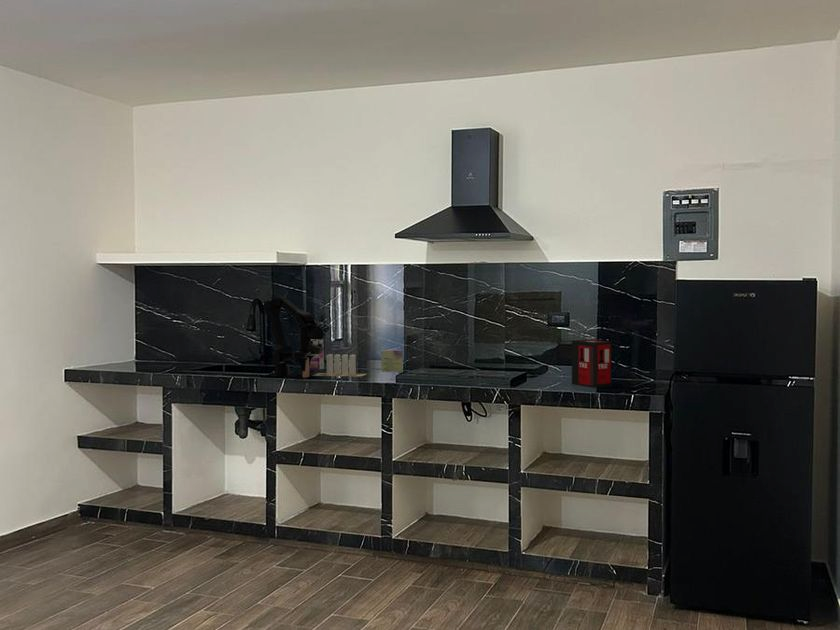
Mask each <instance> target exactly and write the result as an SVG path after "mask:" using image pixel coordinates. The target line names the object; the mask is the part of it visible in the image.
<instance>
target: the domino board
mask: <svg viewBox="0 0 840 630" xmlns="http://www.w3.org/2000/svg"><path fill="white" fill-rule="evenodd" d="M366 375H367V373H356V375H353V376H352V377H358V378H359V377H360V378H361V377H364V376H366ZM311 376H312V377H313V376H314V377H351V376H350V373H348V375H345V376H344V375H342V373H341V374H340V375H334V372H333V374H332V375H327V372H325V373H324V372H318V373H316V374H312V375H311Z"/></svg>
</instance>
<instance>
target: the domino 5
mask: <svg viewBox="0 0 840 630" xmlns="http://www.w3.org/2000/svg"><path fill="white" fill-rule="evenodd" d="M356 356H357V355H356V354H350V355H348V361H349V374H350V376H349V377H354V376H353V375H356V374H357V369H356V368H357V365H356V362H357V361H356V360H357V359H356Z"/></svg>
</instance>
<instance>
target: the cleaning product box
mask: <svg viewBox="0 0 840 630" xmlns="http://www.w3.org/2000/svg"><path fill="white" fill-rule="evenodd" d="M612 344H613V343H612V341H605V340H597V339H596V340H595V339H575V340H574V339H573V340H571V384H572V385H575V386H581V387H587V388H588V387H589V388H594V389H601V388H612V386H613V385H612V384H613V381H612V379H613V377H612V376H613V375H612V372H613V371H612V369H613V367H612V365H613V364H612V363H613V360H612V359H613V358H612V357H613V356H612V355H613V354H612V353H613V345H612Z"/></svg>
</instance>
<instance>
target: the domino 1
mask: <svg viewBox="0 0 840 630" xmlns="http://www.w3.org/2000/svg"><path fill="white" fill-rule="evenodd" d="M309 377H310V369H309V358H308V359H307V360H306V369H305V371H303V370H302V378H303V379H304V378H305V379H306V378H309Z"/></svg>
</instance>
